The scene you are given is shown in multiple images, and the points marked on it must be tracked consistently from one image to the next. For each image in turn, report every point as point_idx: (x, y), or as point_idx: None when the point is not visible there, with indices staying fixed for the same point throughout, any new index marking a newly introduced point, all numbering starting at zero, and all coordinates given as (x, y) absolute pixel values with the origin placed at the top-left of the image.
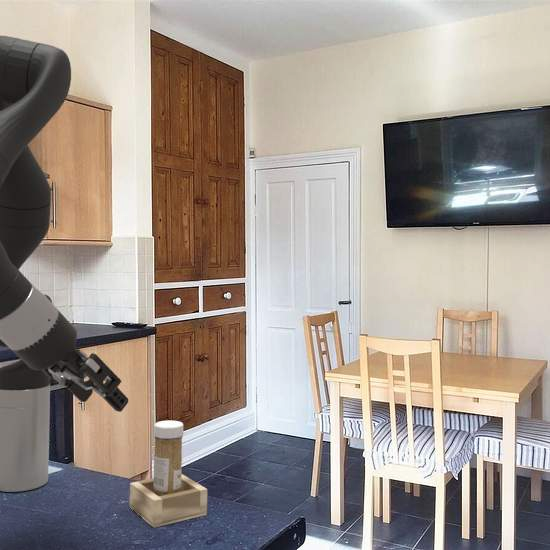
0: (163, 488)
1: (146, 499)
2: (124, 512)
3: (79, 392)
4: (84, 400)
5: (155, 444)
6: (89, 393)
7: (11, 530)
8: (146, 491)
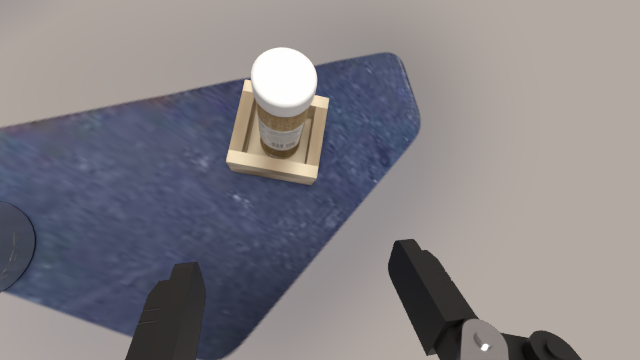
0: (294, 145)
1: (288, 174)
2: (240, 184)
3: (195, 329)
4: (203, 294)
5: (274, 120)
6: (198, 276)
7: None
8: (277, 165)
